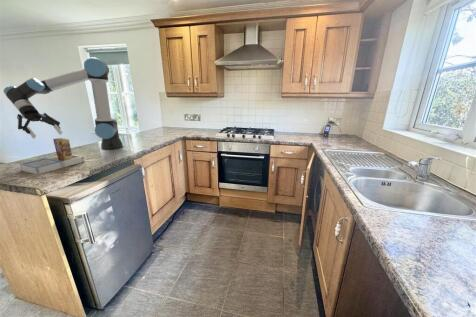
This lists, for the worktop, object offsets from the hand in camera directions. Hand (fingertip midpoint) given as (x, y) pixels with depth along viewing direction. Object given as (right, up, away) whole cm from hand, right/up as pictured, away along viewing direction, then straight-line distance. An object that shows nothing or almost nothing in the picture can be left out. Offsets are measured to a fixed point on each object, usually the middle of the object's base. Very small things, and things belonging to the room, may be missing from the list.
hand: (48, 135), depth 120 cm
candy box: (+9, -17, +2) cm, 20 cm away
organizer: (+7, -19, -4) cm, 21 cm away
